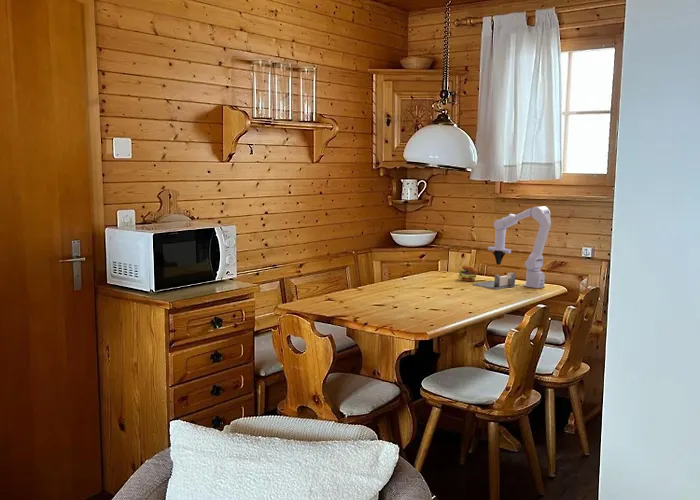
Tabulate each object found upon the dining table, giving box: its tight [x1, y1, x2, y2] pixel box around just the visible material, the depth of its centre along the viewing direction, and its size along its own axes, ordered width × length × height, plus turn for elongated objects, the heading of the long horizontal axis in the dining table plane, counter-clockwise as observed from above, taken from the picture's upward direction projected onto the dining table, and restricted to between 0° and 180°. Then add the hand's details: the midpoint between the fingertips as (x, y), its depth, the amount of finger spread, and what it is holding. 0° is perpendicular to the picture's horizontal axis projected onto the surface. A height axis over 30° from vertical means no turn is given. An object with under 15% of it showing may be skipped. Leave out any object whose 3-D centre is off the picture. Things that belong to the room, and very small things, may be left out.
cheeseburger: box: [457, 264, 479, 282], centre depth 396 cm, size 10×11×10 cm
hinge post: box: [493, 274, 500, 287], centre depth 375 cm, size 2×2×6 cm
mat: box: [472, 280, 518, 291], centre depth 382 cm, size 16×19×1 cm
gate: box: [499, 273, 512, 286], centre depth 379 cm, size 10×2×6 cm, turn 130°
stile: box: [507, 272, 516, 286], centre depth 382 cm, size 5×6×6 cm
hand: (498, 264), depth 397 cm, fingers closed
